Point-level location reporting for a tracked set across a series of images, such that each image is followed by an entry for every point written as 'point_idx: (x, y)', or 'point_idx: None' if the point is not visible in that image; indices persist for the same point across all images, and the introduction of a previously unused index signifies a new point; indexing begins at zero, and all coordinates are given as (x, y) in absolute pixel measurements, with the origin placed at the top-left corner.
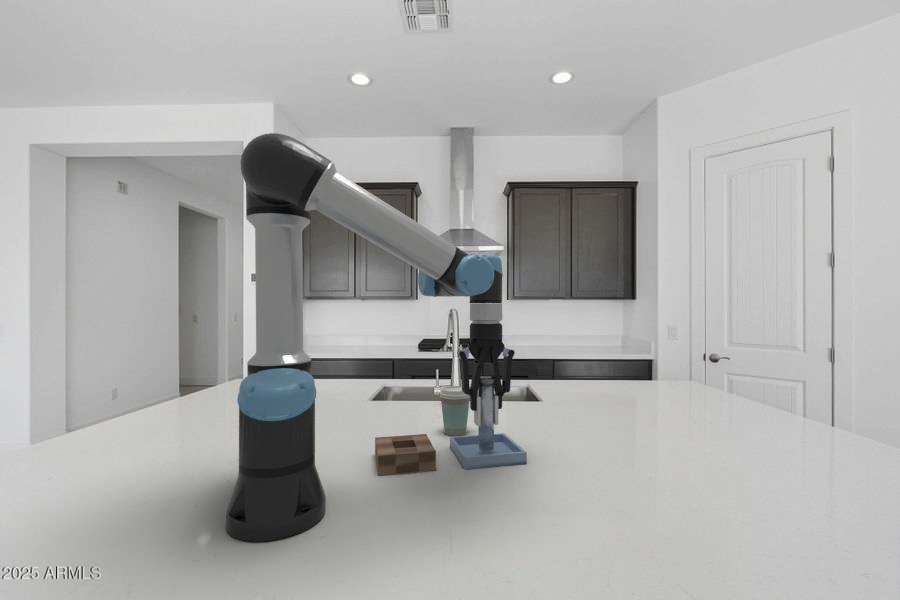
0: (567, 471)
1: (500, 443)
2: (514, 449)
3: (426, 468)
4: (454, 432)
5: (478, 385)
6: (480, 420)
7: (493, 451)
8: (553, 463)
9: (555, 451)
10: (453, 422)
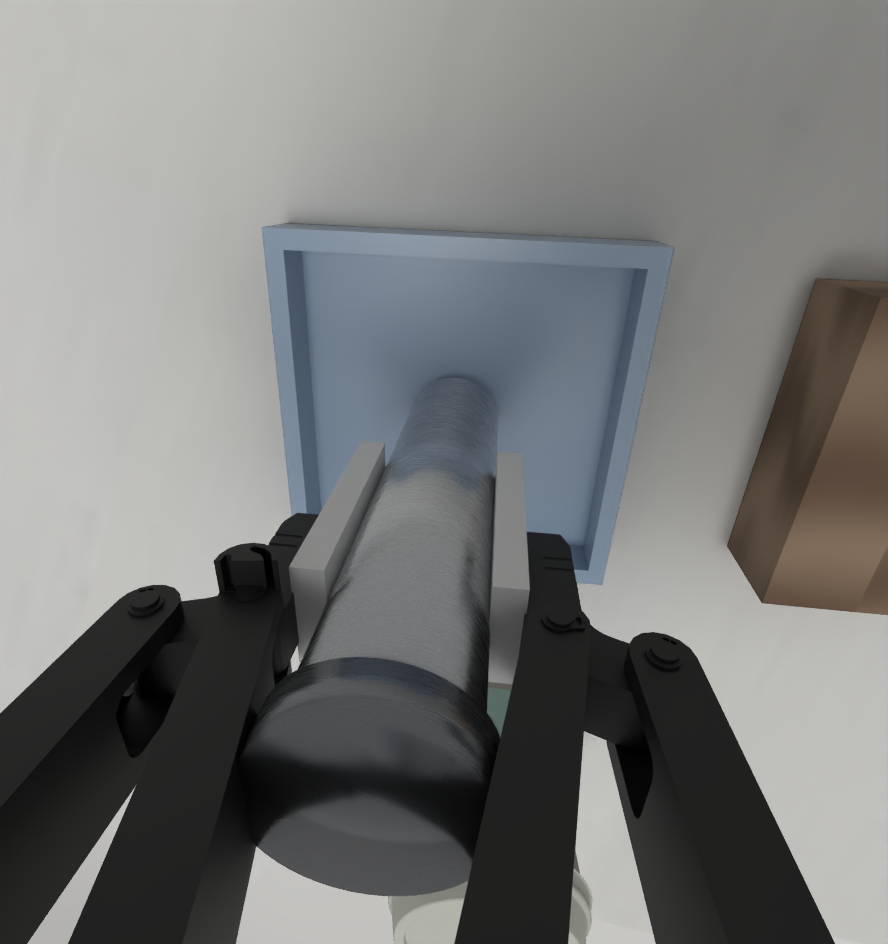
0: (86, 37)
1: None
2: (303, 368)
3: (882, 283)
4: None
5: (516, 700)
6: (498, 468)
7: None
8: (137, 188)
9: (87, 353)
10: None
